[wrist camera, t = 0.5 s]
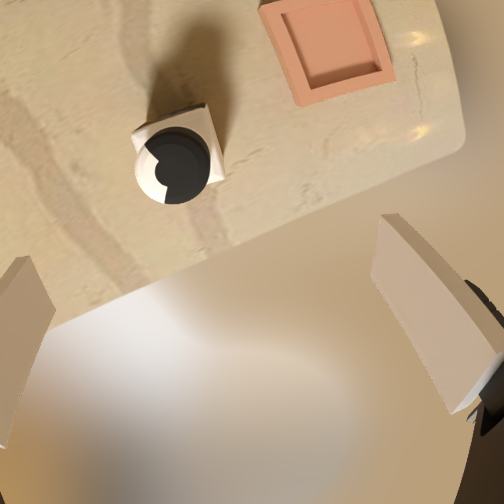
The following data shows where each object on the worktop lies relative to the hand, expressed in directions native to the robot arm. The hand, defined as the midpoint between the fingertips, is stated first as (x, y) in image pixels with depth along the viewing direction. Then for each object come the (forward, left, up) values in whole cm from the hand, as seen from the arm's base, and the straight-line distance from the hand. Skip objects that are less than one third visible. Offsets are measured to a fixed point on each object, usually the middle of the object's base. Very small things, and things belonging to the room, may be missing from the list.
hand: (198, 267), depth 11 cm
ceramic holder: (-5, +16, -26) cm, 31 cm away
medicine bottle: (0, -3, -26) cm, 26 cm away
